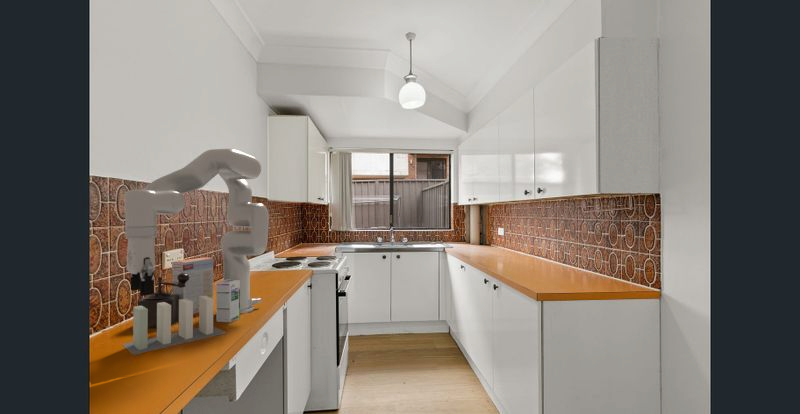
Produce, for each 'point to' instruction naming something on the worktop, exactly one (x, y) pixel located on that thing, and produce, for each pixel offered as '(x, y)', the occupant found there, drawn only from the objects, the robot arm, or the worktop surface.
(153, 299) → the dark block with crank
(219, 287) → the syrup box
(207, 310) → the domino
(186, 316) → the domino
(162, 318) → the domino
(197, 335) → the mat
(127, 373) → the worktop surface
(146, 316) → the domino
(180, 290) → the cracker box
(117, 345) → the worktop surface
